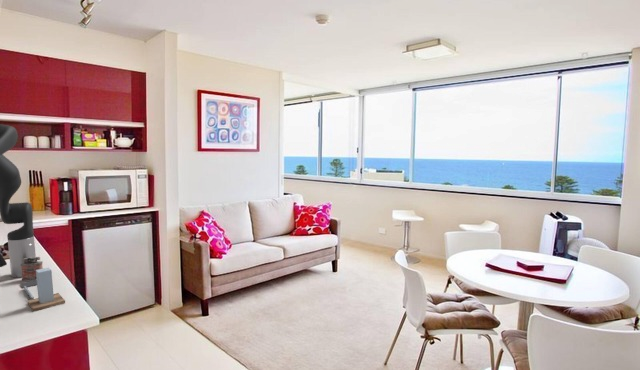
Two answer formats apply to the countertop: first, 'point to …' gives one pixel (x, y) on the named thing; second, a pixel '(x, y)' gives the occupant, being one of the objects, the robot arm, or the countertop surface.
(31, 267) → the lighter
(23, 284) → the dark gray flat plate
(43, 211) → the countertop surface
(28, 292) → the channel
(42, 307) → the board
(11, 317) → the countertop surface
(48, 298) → the block
